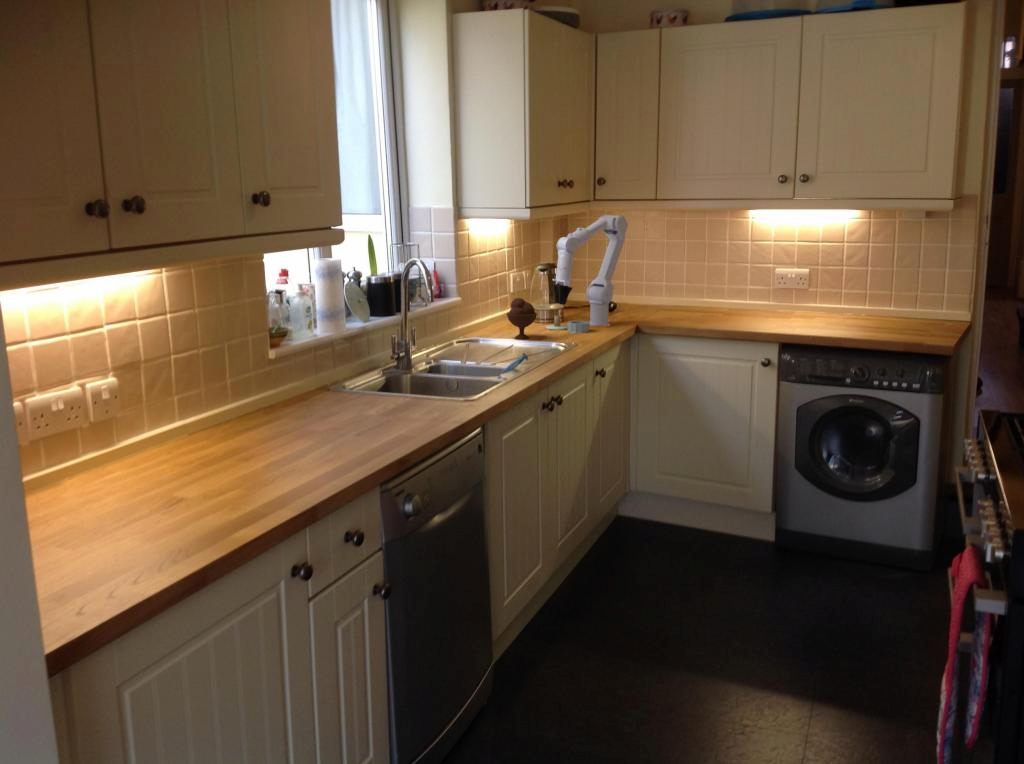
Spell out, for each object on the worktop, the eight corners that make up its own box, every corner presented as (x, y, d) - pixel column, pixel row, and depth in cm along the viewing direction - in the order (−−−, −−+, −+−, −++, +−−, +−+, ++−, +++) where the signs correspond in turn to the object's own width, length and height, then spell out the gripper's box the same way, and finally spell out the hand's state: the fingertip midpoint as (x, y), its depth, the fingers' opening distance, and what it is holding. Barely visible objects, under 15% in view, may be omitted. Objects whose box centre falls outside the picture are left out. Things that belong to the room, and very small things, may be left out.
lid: (545, 326, 380) (545, 314, 379) (567, 326, 380) (568, 314, 379) (546, 330, 371) (546, 317, 370) (569, 329, 371) (569, 317, 370)
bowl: (567, 331, 372) (567, 320, 372) (587, 330, 373) (587, 320, 372) (568, 334, 365) (568, 324, 364) (589, 334, 365) (590, 323, 364)
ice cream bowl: (512, 341, 350) (512, 300, 347) (503, 336, 360) (503, 296, 357) (540, 340, 353) (540, 299, 349) (531, 335, 363) (531, 295, 360)
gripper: (550, 267, 377) (546, 301, 378) (558, 267, 362) (554, 303, 364) (567, 269, 378) (563, 303, 379) (576, 270, 364) (572, 305, 365)
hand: (560, 303), depth 372 cm, fingers open, 7 cm apart
